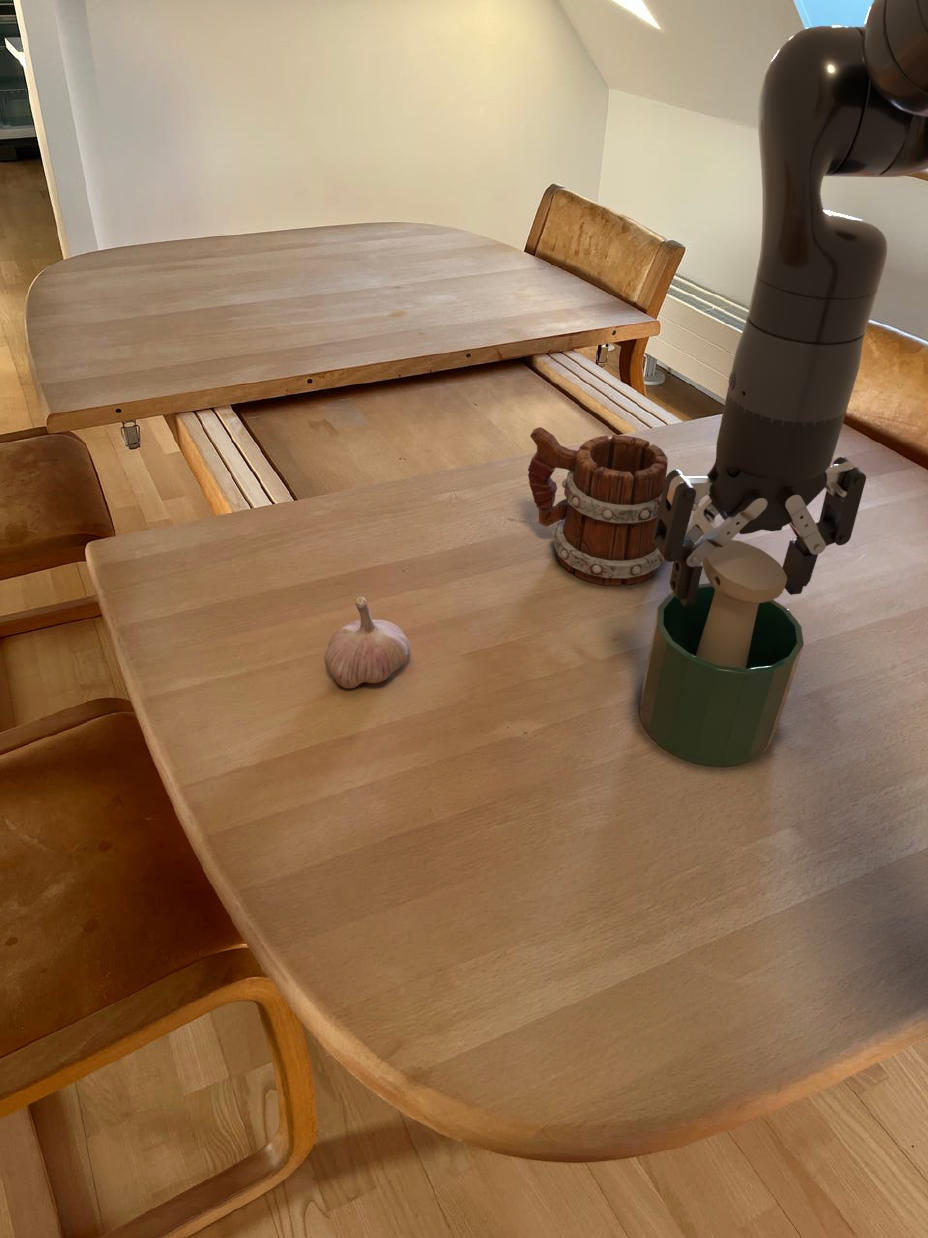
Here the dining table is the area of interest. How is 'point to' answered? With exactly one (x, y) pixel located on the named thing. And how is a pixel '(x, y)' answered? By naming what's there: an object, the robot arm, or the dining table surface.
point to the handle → (737, 600)
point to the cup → (717, 684)
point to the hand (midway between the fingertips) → (737, 593)
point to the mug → (601, 505)
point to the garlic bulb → (366, 650)
